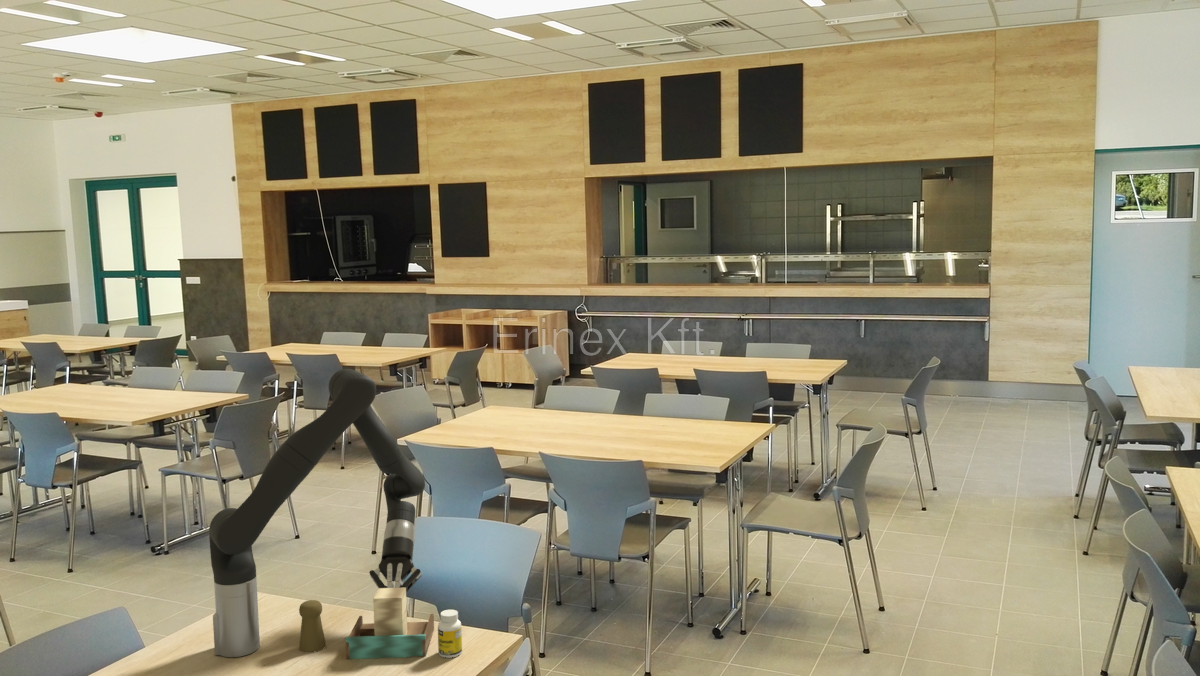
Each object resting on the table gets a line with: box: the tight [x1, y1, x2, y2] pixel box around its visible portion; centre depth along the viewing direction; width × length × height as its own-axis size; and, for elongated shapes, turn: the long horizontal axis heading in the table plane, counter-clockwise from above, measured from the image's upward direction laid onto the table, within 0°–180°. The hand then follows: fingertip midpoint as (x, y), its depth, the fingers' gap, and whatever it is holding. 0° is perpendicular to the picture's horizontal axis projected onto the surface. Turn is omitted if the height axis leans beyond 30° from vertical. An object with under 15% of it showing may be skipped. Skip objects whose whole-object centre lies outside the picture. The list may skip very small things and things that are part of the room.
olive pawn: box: [298, 599, 327, 653], centre depth 221 cm, size 6×6×11 cm
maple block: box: [372, 587, 408, 636], centre depth 220 cm, size 6×6×11 cm
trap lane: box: [345, 613, 435, 660], centre depth 222 cm, size 18×15×5 cm
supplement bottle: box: [437, 609, 463, 659], centre depth 216 cm, size 5×5×10 cm
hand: (392, 608), depth 224 cm, fingers closed
